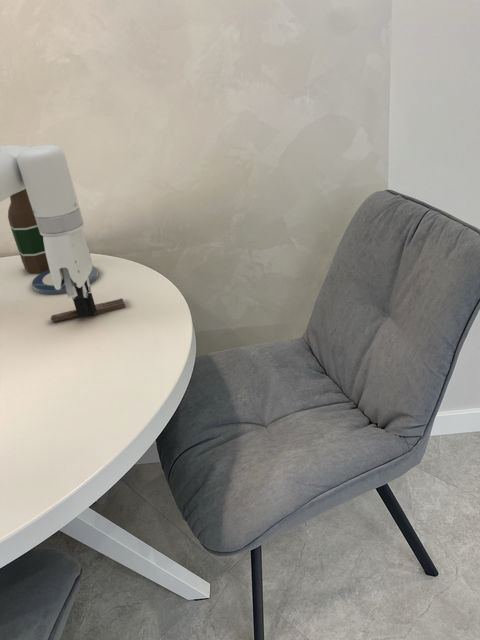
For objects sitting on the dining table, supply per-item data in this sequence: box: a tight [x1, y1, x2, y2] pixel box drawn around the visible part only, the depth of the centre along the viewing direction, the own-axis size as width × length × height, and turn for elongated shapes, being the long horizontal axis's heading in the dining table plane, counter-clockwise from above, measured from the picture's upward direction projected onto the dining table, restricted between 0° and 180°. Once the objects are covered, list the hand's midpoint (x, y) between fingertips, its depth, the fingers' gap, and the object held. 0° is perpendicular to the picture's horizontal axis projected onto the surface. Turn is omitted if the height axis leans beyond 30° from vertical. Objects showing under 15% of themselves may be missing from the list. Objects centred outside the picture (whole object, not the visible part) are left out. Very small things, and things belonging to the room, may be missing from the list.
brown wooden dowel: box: [50, 298, 126, 323], centre depth 106 cm, size 14×3×1 cm, turn 112°
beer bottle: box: [7, 189, 49, 275], centre depth 123 cm, size 8×8×24 cm
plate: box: [31, 265, 99, 295], centre depth 121 cm, size 14×14×1 cm
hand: (87, 313), depth 104 cm, fingers closed
